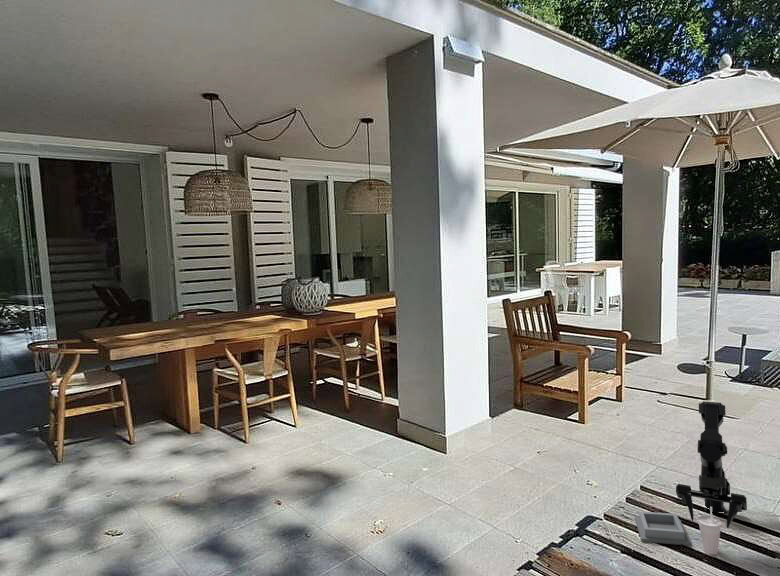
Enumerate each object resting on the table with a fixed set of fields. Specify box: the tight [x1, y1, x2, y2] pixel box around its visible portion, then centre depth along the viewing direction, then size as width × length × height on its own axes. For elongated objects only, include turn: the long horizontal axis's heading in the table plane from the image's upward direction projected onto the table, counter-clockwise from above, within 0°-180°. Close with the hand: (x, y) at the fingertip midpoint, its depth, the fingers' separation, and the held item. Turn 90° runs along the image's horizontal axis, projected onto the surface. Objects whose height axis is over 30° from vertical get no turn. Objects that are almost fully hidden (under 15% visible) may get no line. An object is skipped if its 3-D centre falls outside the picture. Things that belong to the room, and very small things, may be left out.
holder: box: [634, 510, 691, 546], centre depth 172 cm, size 14×14×4 cm
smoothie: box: [697, 507, 723, 555], centre depth 160 cm, size 6×6×14 cm
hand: (709, 524), depth 160 cm, fingers open, 9 cm apart
